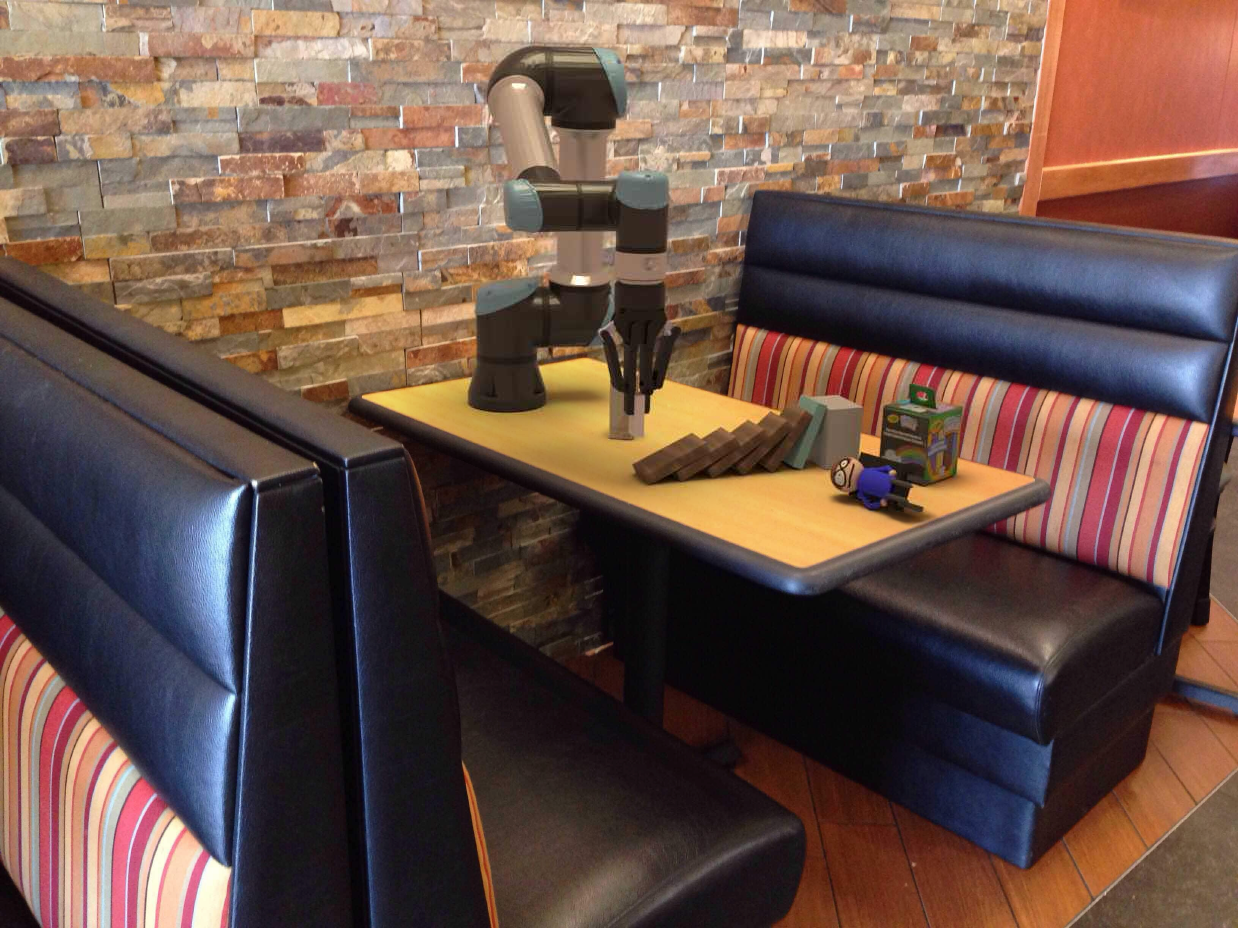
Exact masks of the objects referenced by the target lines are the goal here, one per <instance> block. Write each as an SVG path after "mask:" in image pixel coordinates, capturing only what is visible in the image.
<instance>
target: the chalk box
mask: <svg viewBox="0 0 1238 928" xmlns="http://www.w3.org/2000/svg"><path fill="white" fill-rule="evenodd" d="M908 390H909V391H908V392H909V398H901V399H898V400H895V401H894V402H891V403H886V404H884V405H883V406H882V420H881V430H880V432H881V433H880V441H879V454H878V457H882V458H885V459H889V460H892V461H896V462H899V463H903V464H907V465H910V466H914V467H917V468H916V471H915V475H914V476H916V477H919V478H923V479H926V480H930V481H931V482H930V485H931V484H934V483H936V482H938V481H941V480H945V479H947V478H949V477H953V476H955V475H957V470H958V460H959V451H960V440H961V438H960V437H961V430H962V428H961V427H962V420H963V411H964V409H963V408H964V407H963V406H962V405H958V404H954V403H950V402H947V401H945V402H944V401H942V400H940V401H939V400H936V391H935V388H933V387H929V386H927V385H926V386H925V385H921V384H916V383H912V382H911V383H909V384H908ZM919 392H922V393H924V394H925V395H926V396H927V398H926V397H922V396H918V393H919ZM912 484H915V485H918V486H920V487H925V486H926V485H925V484H921V483H918V482H914V481H912Z"/></svg>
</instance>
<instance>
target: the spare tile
mask: <svg viewBox="0 0 1238 928" xmlns="http://www.w3.org/2000/svg"><path fill="white" fill-rule="evenodd" d="M811 397H812V396H807V395H805V394H802V393H801V394H800V397H799V399H798V401H797V404H796V405H797V406H799V407H801V408H802V409H804V410H806V411H807V412H809V413H810V414H811V415H813V418H812V419H811V420H810V422H809V423H808V425H807V426H806V427H805V429H804V430H803V432H802V433H801V434H800V436H799V437H798V438H797V440H796V441H795V443H794V444H793V445H792V447H791V448H790V450H789V451H788V452H787V454H786V455H785V457H784V458H783V459H782V462H785V463H786V464H788V465H789V466H791V467H793V468H796V469H798V470H803V468H804V466H805V463H806V460H808V459H807V456H808V454H809V451H810V449H811V446H812V444H813V441H814V439H815V436H816V434H817V431H818V428H819V426H820V423H821V421H822V418H823V416H824V413H825V411H826V408H827V405H825V404H823V403H821V402H819V401H817V400H815V399H813V398H811Z"/></svg>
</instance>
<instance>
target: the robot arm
mask: <svg viewBox="0 0 1238 928" xmlns="http://www.w3.org/2000/svg"><path fill="white" fill-rule="evenodd" d="M623 65H624V64H623V62H622V60H621V57H620V55H618V53H617V52H616V51H615V50H613V49H611V48H602V47H596V46H555V45H554V46H548V45H546V46H545V45H530V46H525V47H521V48H519V49H516V50H514V51H512V52H511V53H510V54H508V55H506V56H505V57H504V58H503V59H502V60H501V61H500V62H499V63H498V64H497V65H496V67H495V68H494V69H493V71H492V73H491V74H490V77H489V79H488V82H487V87H486V104H487V108H488V111H489V113H490V114H489V115H490V116H491V118H492V119H493V120H494V122H496V123H497V124H498V128H499V132H500V136H501V141H502V144H503V148H504V153H505V158H506V162H507V165H508V170H509V174H510V178H511V180H509V181H507V182H506V183H505V185H504V189H503V213H504V214H503V215H504V222H505V225H506V227H507V228H508V229H509V230H510V231H512V232H525V233H531V234H535V233H554V232H555V233H557V235H556V237H557V240H556V267H555V269H554V270H553V271H551V273H550V274H549V275H548V281H547V283H548V284H547V285H546V286H545V285H544V286H541V285H540V286H539V284H538V282H537V280H536V279H534V278H531V277H513V278H505V279H500V280H499V279H498V280H495V281H491V282H488V283H485V284H483V285H481V286H480V287H478V289H477V291H476V292H475V304H474V305H475V306H474V307H475V308H474V310H473V311H474V315H475V351H476V352H475V353H476V355H475V356H476V357H475V358H476V360H475V367H474V370H473V373H472V376H471V380H470V383H469V386H468V389H467V403H468V404H469V405H470V406H472V407H474V408H476V409H480V410H484V411H491V412H522V411H530V410H534V409H538V408H541V407H543V406H545V405H546V403H547V388H546V385H545V381H544V379H543V375H542V373H541V370H540V367H539V364H538V350H539V349H543V348H544V349H545V348H546V349H547V348H549V349H551V348H553V349H554V348H578V347H579V348H580V347H581V348H584V349H585V348H589V347H598V346H602V348H603V350H604V351H603V352H604V355H605V361H606V365H607V369H608V373H609V379H611V384H612V387H613V388H614V389H616V390H617V391H619V392H623V393H624V412H625V414H627V415H629V433H630V434H631V435H632V436H634V438H644V436H645V415H649V414H650V412H651V397H652V396H653V394H654V393H655V391H656V390H661V389H662V388H663V387H664V383H665V379H666V375H667V372H668V367H669V365H670V360H671V357H672V354H673V349H674V346H675V342H676V340H677V339H678V337H679V336H680V334H681V332H682V328H681V327H679V326H678V325H676V324H674V323H671V322H670V321H668V316H667V313H666V310H665V306H666V291H667V290H666V287H667V285H666V284H665V282H664V281H663V280H665V278H666V277H667V258H668V254H667V253H668V250H667V249H668V231H669V230H668V227H669V204H670V200H671V195H670V189H669V188H670V187H669V185H670V184H669V181H670V180H669V177H668V175H667V174H666V173H664V172H662V171H655V170H654V171H653V170H625V171H624V170H623V171H621V172H619V174H618V175H617V178H614V179H612V180H606V172H607V170H606V169H607V146H608V145H607V144H608V138H609V136H610V135H611V134H612V133H614V132H615V131H616V129H617V119H618V120H621V118H624V117H625V115H626V113H627V106H628V87H627V79H626V73H625V69H624V66H623ZM545 117H549V118H550V127H551V128H552V129H553V131H554V132H555V133H556V134H557V136H558V138H559V139H558V140H559V141H558V143H559V144H558V145H559V146H558V148H559V149H558V162H557V158H556V155H555V152H554V148H553V144H552V140H551V138H550V137H551V136H550V134H549V131H548V127H547V123H546V120H545ZM605 232H608V233H609V232H615V252H614V253H615V255H614V277H615V278H616V279H618V280H616V281H615V282H614V285H612V284H610V282H611V281H610V279H611V278H610V276H609V275H608V274H607V273H606V272H605V270H604V269H603V255H604V254H603V253H604V233H605ZM615 332H617V333H618V335H619V336H620V338H621V339H622V347H623V367H622V368H623V369H622V368H621V364H620V359H619V354H618V349H617V345H616V342H615V340H614V339H616V333H615ZM660 333H661V334H662V335H661V338H660V341H659V345H658V347H657V348H658V349H657V353H656V357H655V360H654V349H655V344H656V343H655V340H656V338H657V337H658V336H659V335H660ZM638 351H639V362H637V361H638ZM653 362H654V364H653ZM638 363H639V366H638V367H637V365H638ZM637 368H639V369H638V370H639V371H638V373H639V391H636V372H637ZM621 371H623V377H622V372H621Z"/></svg>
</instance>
